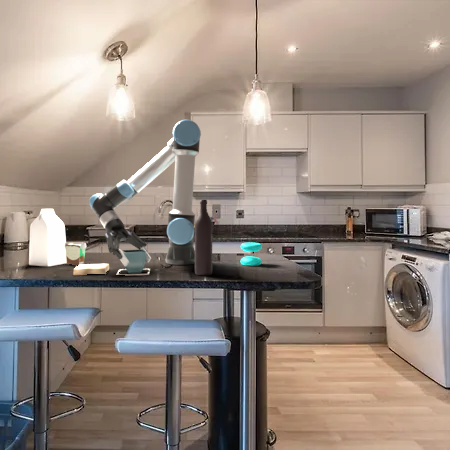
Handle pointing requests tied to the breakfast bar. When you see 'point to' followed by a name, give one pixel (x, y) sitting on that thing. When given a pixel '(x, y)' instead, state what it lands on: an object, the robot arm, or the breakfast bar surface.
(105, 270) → the bread slice
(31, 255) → the milk
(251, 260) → the pair of cyan ovals
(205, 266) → the wine bottle
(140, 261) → the flower pot
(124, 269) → the seat outline
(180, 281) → the breakfast bar surface
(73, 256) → the food container
